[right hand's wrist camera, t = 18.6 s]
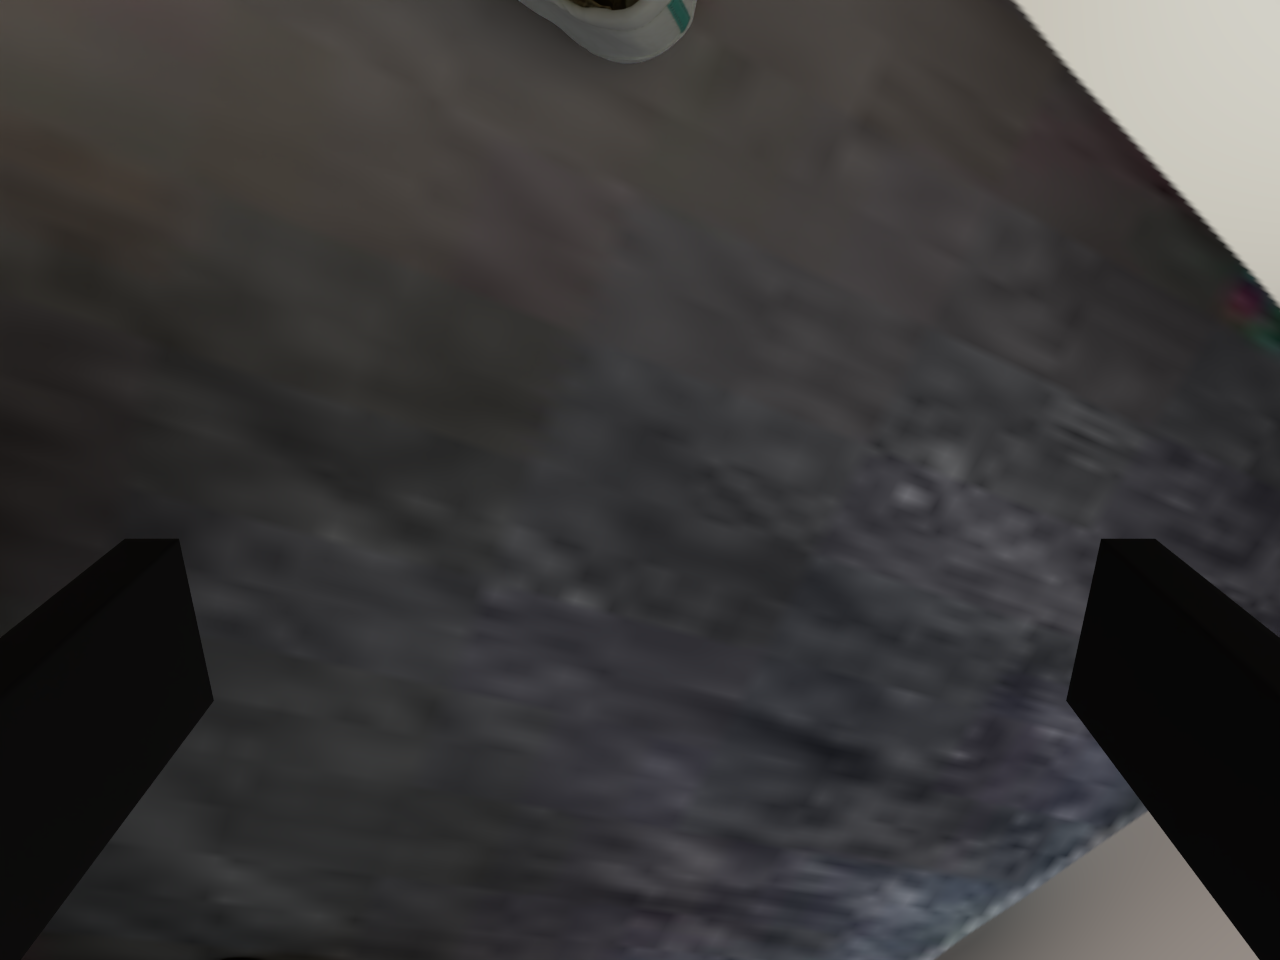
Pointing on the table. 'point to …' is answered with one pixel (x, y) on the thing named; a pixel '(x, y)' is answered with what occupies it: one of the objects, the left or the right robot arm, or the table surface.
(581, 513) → the table surface
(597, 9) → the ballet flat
